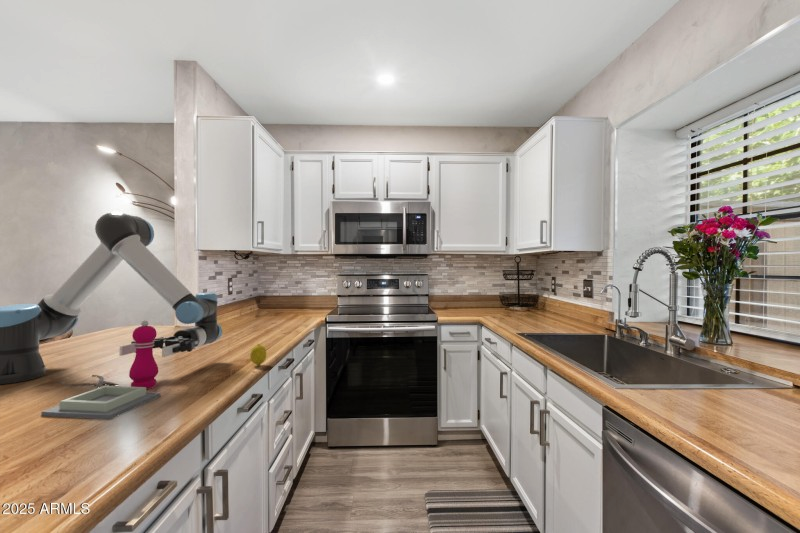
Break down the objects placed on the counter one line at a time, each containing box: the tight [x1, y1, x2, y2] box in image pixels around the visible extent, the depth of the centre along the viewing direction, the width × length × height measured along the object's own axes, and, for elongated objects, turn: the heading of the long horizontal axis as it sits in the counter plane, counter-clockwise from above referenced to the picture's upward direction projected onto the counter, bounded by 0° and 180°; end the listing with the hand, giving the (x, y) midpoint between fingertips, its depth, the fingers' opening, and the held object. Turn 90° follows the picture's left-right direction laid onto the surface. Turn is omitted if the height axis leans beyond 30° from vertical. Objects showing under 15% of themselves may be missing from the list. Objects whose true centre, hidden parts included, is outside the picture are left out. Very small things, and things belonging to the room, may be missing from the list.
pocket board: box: [40, 385, 161, 420], centre depth 96 cm, size 18×16×3 cm
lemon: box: [250, 343, 267, 367], centre depth 137 cm, size 6×6×8 cm
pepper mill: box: [128, 320, 159, 390], centre depth 111 cm, size 7×7×20 cm
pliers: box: [60, 374, 120, 388], centre depth 116 cm, size 10×1×20 cm
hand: (141, 351), depth 109 cm, fingers open, 13 cm apart
